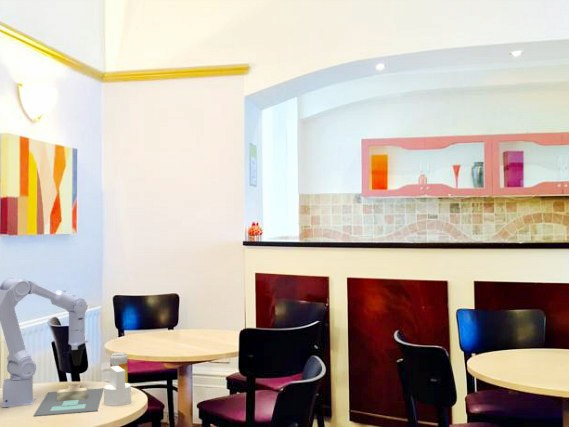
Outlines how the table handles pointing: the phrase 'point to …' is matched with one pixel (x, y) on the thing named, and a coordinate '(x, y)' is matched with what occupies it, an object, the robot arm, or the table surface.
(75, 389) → the t block
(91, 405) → the mat
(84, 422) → the table surface
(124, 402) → the cylinder with rectangular tab
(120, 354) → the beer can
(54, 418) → the table surface
